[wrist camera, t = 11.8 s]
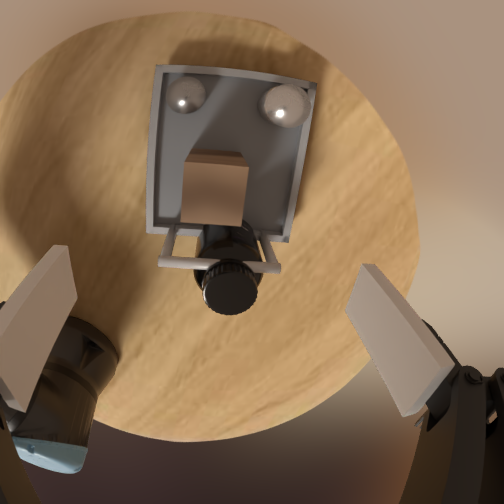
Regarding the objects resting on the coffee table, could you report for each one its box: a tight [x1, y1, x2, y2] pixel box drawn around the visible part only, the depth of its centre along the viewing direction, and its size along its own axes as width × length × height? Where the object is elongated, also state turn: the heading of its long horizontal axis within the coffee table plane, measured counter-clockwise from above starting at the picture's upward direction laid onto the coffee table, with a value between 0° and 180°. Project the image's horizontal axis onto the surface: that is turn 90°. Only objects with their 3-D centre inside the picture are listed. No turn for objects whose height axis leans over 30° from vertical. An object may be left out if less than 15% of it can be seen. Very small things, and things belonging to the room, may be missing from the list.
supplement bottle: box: [194, 219, 263, 315], centre depth 30 cm, size 7×7×12 cm
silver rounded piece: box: [258, 84, 311, 128], centre depth 25 cm, size 4×4×5 cm
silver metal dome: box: [166, 77, 206, 114], centre depth 24 cm, size 4×4×3 cm
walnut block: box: [181, 148, 249, 226], centre depth 26 cm, size 5×5×8 cm
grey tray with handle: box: [146, 65, 317, 274], centre depth 27 cm, size 16×18×10 cm
